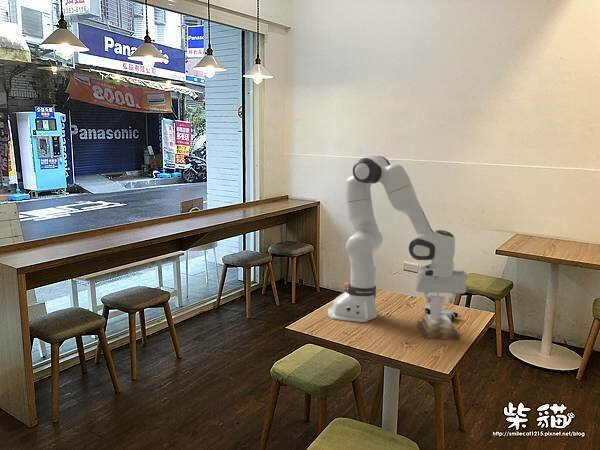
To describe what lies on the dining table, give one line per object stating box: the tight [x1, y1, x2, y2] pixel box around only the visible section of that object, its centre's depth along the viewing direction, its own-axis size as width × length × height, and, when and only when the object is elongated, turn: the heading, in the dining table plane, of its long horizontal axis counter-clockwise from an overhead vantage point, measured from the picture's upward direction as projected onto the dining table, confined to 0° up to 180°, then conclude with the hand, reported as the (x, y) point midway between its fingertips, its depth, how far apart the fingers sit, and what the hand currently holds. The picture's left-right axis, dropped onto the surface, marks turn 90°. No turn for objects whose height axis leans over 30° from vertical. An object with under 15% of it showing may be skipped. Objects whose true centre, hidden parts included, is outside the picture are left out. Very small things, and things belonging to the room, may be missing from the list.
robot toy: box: [420, 303, 462, 322], centre depth 224 cm, size 12×4×15 cm
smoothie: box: [428, 293, 446, 320], centre depth 205 cm, size 6×6×14 cm
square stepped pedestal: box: [416, 313, 460, 341], centre depth 207 cm, size 14×14×6 cm
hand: (439, 302), depth 205 cm, fingers open, 8 cm apart
